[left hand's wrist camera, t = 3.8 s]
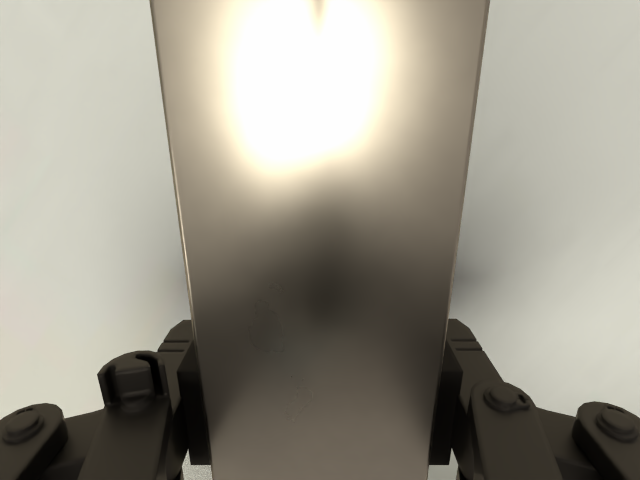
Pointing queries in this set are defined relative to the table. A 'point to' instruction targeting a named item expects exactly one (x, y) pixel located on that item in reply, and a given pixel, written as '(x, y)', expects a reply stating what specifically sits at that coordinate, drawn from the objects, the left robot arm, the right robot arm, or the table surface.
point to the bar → (319, 221)
